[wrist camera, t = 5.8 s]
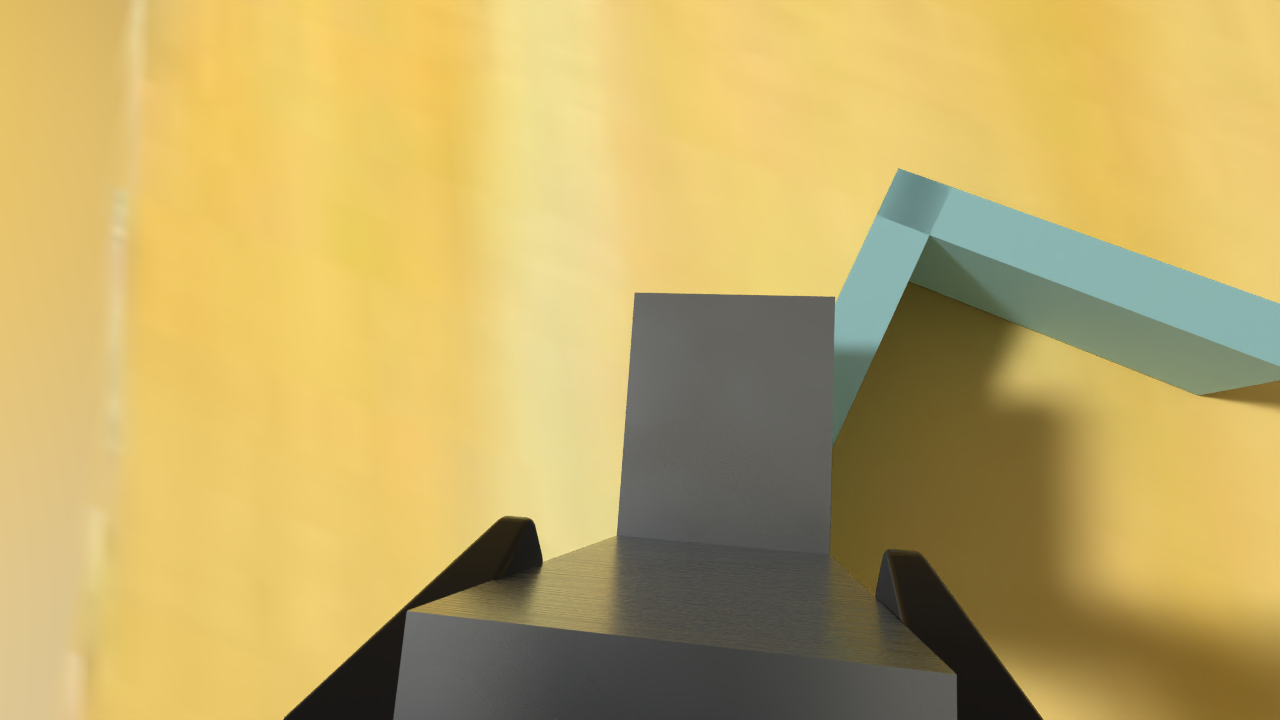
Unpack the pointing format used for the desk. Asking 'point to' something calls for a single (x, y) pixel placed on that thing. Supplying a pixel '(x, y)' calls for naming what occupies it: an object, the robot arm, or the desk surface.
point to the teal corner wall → (1047, 293)
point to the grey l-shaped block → (693, 556)
